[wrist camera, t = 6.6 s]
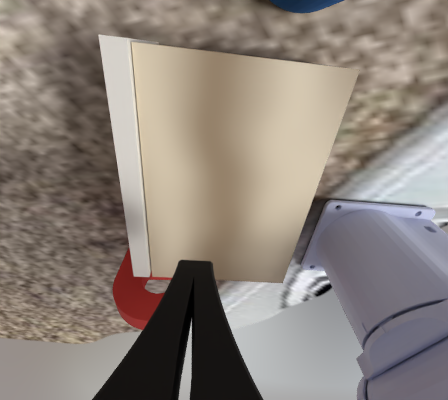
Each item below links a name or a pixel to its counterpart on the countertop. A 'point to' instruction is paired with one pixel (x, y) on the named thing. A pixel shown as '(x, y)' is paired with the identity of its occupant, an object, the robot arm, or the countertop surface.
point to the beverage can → (304, 5)
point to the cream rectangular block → (232, 155)
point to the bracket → (134, 295)
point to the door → (127, 144)
